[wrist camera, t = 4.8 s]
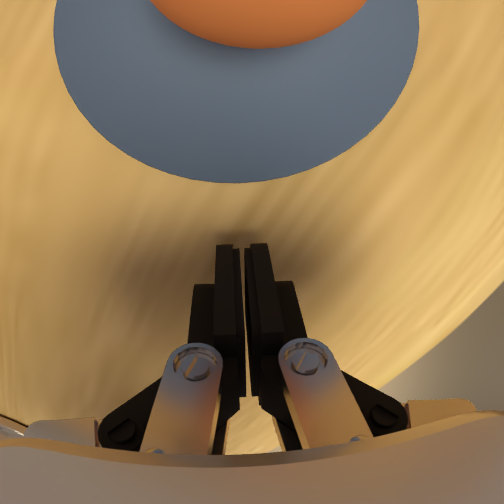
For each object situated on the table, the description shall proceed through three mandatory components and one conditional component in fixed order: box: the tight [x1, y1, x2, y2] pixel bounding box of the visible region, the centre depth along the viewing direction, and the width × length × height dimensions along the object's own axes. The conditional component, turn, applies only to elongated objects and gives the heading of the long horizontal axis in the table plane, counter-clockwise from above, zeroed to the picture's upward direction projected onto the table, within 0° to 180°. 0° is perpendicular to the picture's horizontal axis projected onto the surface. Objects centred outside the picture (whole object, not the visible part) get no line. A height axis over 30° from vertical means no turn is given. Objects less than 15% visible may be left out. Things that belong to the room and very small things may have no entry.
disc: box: [54, 0, 419, 183], centre depth 7 cm, size 12×12×1 cm
